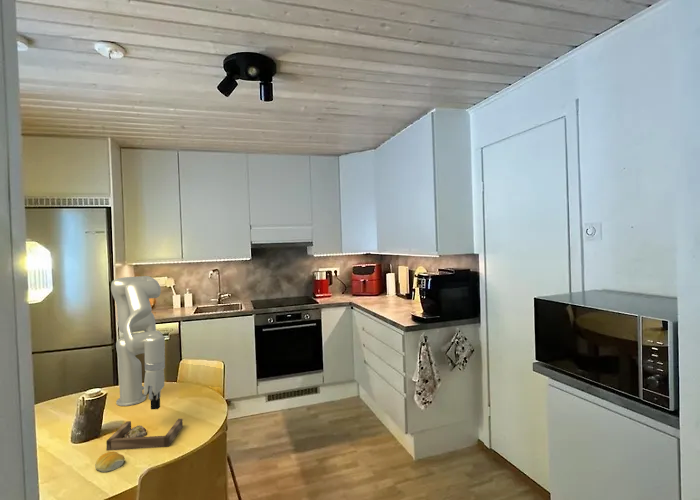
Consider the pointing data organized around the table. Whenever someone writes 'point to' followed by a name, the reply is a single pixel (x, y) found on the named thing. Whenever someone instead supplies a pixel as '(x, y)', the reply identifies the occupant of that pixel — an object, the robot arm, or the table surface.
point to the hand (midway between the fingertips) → (155, 408)
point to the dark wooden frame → (141, 438)
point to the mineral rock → (136, 432)
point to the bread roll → (109, 461)
